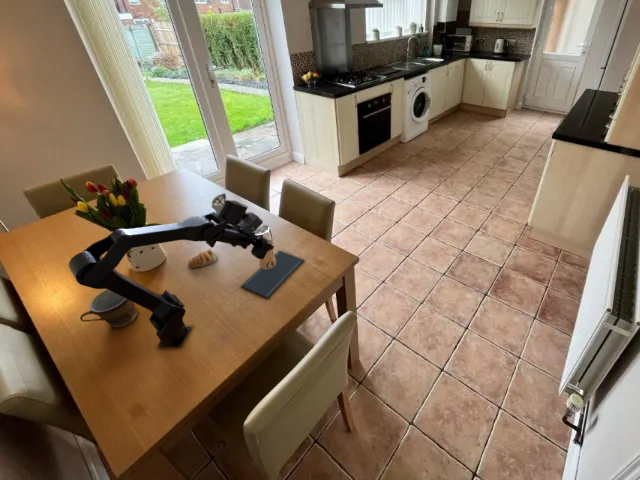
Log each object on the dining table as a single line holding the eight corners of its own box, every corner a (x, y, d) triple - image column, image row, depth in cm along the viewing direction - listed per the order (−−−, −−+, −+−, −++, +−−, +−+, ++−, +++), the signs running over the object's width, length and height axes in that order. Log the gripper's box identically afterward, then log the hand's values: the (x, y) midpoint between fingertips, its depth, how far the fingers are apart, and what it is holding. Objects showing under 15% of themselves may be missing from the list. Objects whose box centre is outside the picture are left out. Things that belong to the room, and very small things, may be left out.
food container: (216, 212, 150) (210, 195, 145) (230, 209, 152) (225, 192, 147) (216, 227, 141) (210, 209, 136) (231, 224, 143) (225, 206, 138)
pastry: (191, 272, 118) (187, 265, 116) (187, 262, 122) (184, 255, 120) (217, 261, 123) (214, 254, 121) (213, 252, 127) (210, 245, 125)
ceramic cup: (137, 300, 107) (124, 280, 102) (147, 316, 102) (134, 296, 96) (89, 326, 99) (72, 306, 93) (98, 346, 93) (81, 325, 88)
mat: (267, 298, 108) (267, 297, 108) (241, 286, 112) (241, 285, 112) (303, 260, 124) (303, 259, 123) (279, 251, 128) (279, 250, 128)
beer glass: (255, 263, 115) (246, 229, 109) (273, 255, 119) (265, 222, 113) (262, 273, 111) (253, 238, 104) (281, 264, 115) (273, 229, 108)
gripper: (260, 223, 95) (294, 233, 108) (227, 201, 105) (263, 213, 118) (242, 256, 94) (279, 262, 107) (211, 231, 104) (248, 240, 117)
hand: (267, 243), depth 112 cm, fingers closed on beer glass, 7 cm apart
